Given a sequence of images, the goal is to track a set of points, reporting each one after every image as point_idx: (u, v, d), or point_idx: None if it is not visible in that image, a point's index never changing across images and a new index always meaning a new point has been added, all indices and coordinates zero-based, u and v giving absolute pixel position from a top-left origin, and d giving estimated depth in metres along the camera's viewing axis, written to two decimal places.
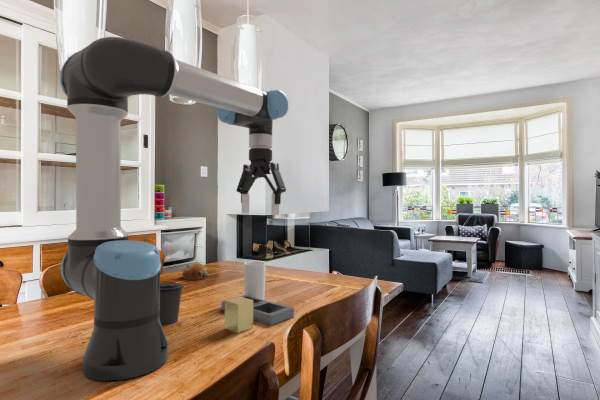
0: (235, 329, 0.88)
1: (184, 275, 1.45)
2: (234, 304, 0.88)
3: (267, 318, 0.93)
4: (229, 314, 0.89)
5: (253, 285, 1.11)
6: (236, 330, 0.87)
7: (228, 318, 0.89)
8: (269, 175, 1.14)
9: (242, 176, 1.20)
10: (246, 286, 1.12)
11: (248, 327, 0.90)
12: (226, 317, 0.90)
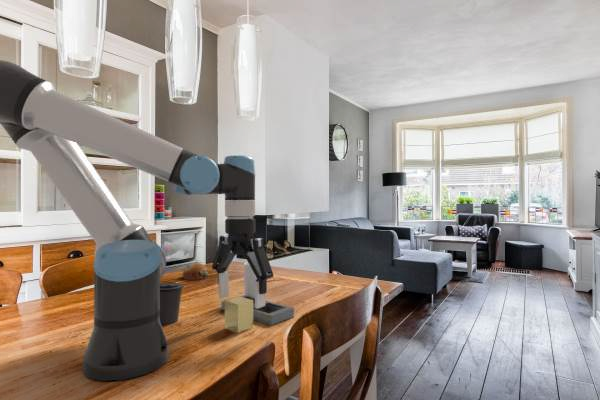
0: (235, 329, 0.88)
1: (184, 275, 1.44)
2: (234, 304, 0.88)
3: (267, 318, 0.93)
4: (229, 314, 0.89)
5: (253, 285, 1.11)
6: (236, 330, 0.87)
7: (228, 318, 0.89)
8: (251, 254, 0.88)
9: (218, 250, 0.94)
10: (246, 286, 1.12)
11: (248, 327, 0.90)
12: (226, 317, 0.90)
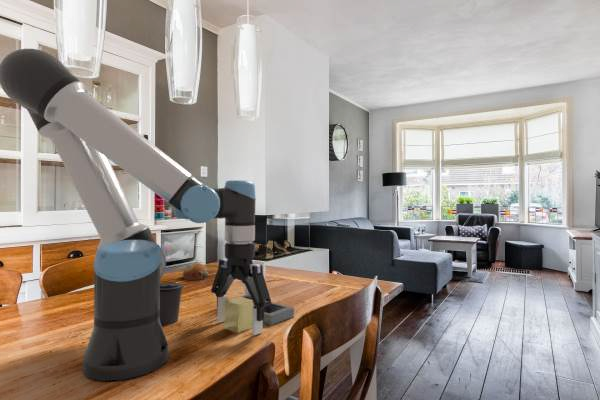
0: (235, 329, 0.88)
1: (184, 275, 1.44)
2: (234, 304, 0.88)
3: (267, 318, 0.93)
4: (229, 314, 0.89)
5: None
6: (236, 330, 0.87)
7: (228, 318, 0.89)
8: (250, 279, 0.88)
9: (218, 274, 0.94)
10: None
11: (248, 327, 0.90)
12: (226, 317, 0.90)
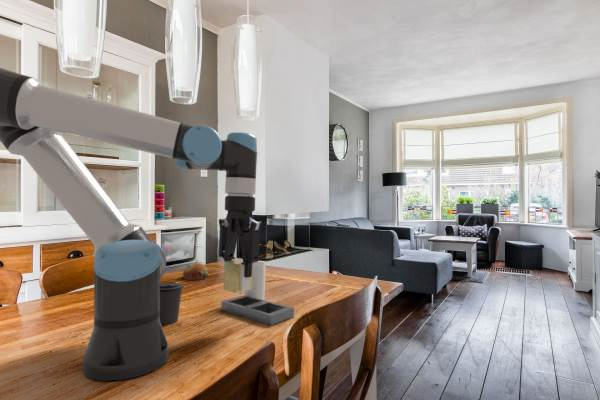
0: (234, 289, 0.88)
1: (185, 275, 1.44)
2: (233, 264, 0.88)
3: (267, 318, 0.93)
4: (229, 274, 0.89)
5: (253, 285, 1.11)
6: (235, 290, 0.87)
7: (227, 279, 0.89)
8: (246, 235, 0.89)
9: (221, 234, 0.93)
10: None
11: None
12: (225, 278, 0.90)
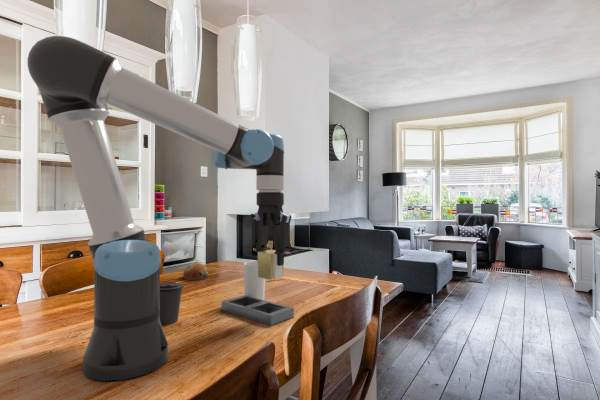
0: (268, 276, 0.97)
1: (185, 275, 1.44)
2: (267, 254, 0.97)
3: (267, 318, 0.93)
4: (263, 263, 0.98)
5: (253, 285, 1.11)
6: (269, 277, 0.96)
7: (261, 267, 0.98)
8: (277, 227, 0.97)
9: (253, 228, 1.02)
10: (246, 286, 1.12)
11: None
12: (259, 266, 0.99)
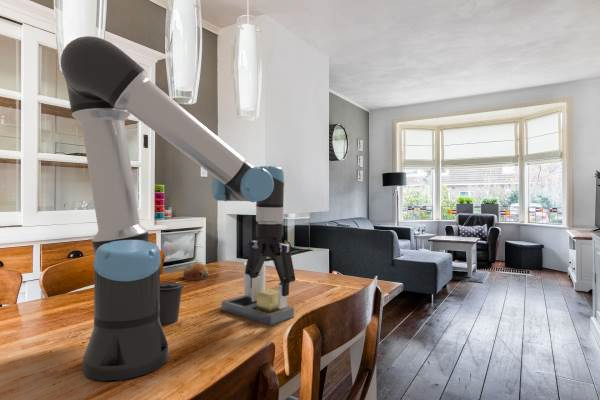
0: None
1: (185, 275, 1.44)
2: (266, 295, 0.97)
3: (267, 318, 0.93)
4: (261, 304, 0.98)
5: None
6: None
7: (260, 308, 0.98)
8: (278, 257, 0.97)
9: (249, 255, 1.02)
10: (246, 286, 1.12)
11: None
12: (258, 307, 0.99)
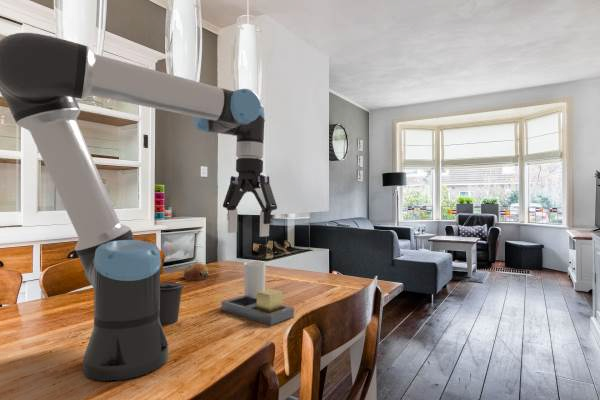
0: None
1: (185, 275, 1.44)
2: (266, 295, 0.97)
3: (267, 318, 0.93)
4: (261, 304, 0.98)
5: (253, 285, 1.11)
6: None
7: (260, 308, 0.98)
8: (258, 189, 0.98)
9: (229, 190, 1.05)
10: (246, 286, 1.12)
11: None
12: (258, 307, 0.99)
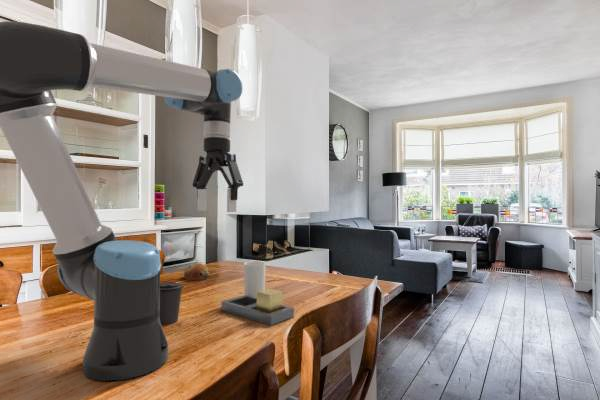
0: None
1: (185, 275, 1.44)
2: (266, 295, 0.97)
3: (267, 318, 0.93)
4: (261, 304, 0.98)
5: (253, 285, 1.11)
6: None
7: (260, 308, 0.98)
8: (225, 167, 1.02)
9: (198, 169, 1.08)
10: (246, 286, 1.12)
11: None
12: (258, 307, 0.99)
